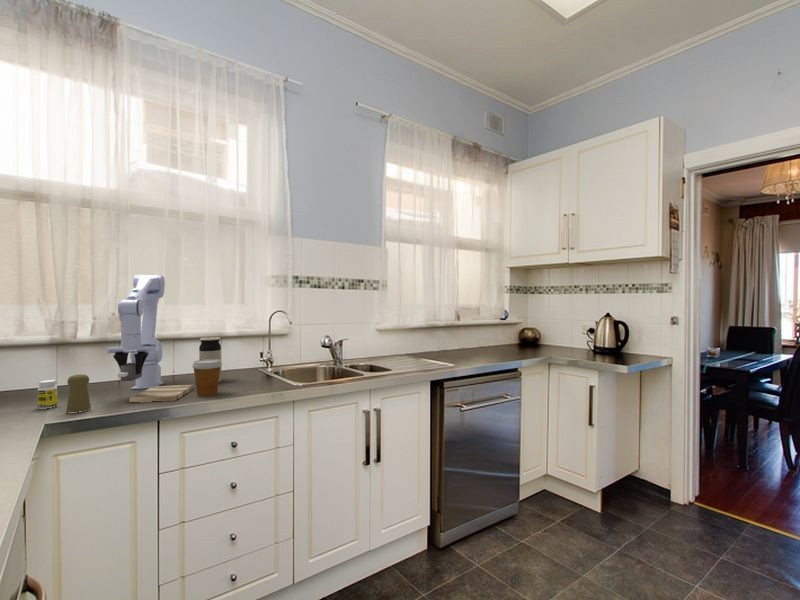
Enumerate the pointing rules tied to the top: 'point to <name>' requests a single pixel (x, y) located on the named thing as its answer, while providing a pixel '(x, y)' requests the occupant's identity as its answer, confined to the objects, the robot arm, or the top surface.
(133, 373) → the connector
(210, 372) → the disposable coffee cup
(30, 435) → the top surface
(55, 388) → the supplement bottle
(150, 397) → the wooden board
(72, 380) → the cork
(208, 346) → the travel mug
